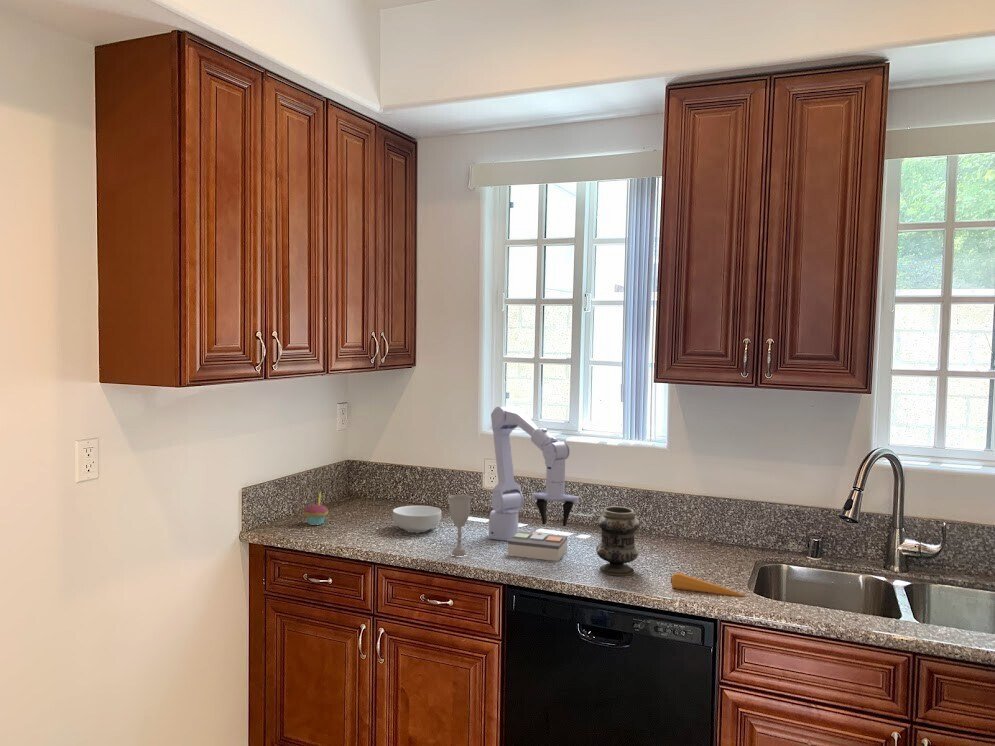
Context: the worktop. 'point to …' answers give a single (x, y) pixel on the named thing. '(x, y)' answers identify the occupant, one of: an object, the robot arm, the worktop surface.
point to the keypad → (537, 547)
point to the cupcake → (316, 512)
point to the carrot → (699, 585)
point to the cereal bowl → (416, 518)
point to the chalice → (459, 518)
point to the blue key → (538, 537)
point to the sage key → (522, 536)
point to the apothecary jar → (617, 540)
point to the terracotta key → (554, 539)
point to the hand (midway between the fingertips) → (554, 524)
